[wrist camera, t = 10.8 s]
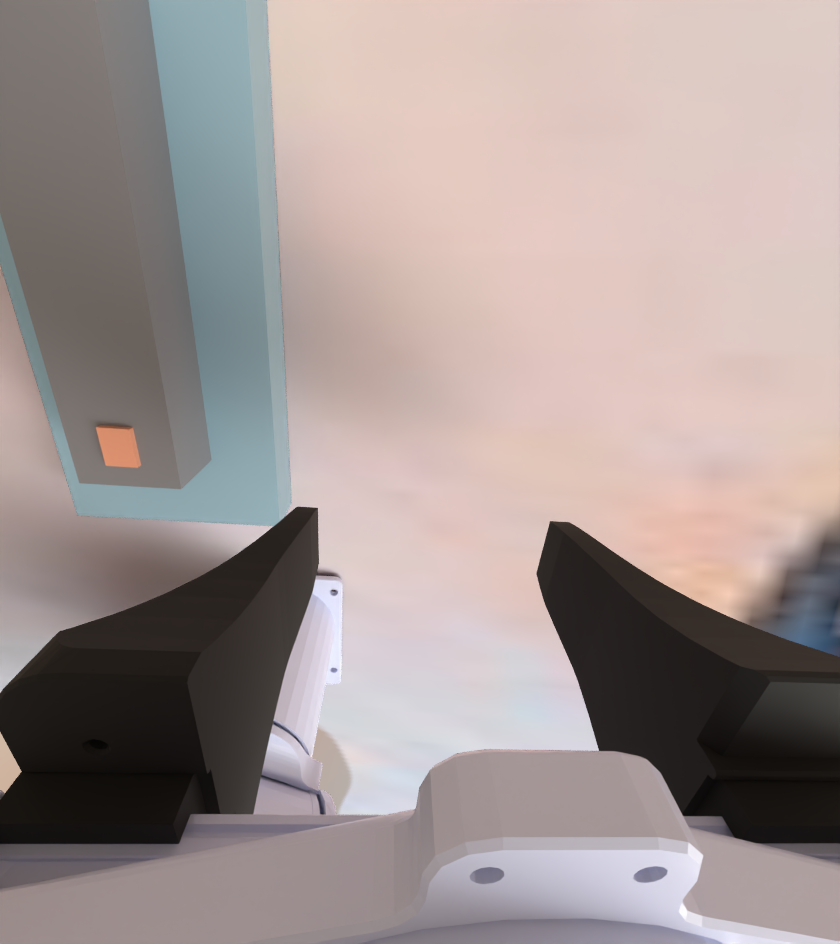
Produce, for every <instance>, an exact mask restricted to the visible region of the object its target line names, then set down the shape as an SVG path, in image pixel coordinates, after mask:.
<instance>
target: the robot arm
mask: <svg viewBox="0 0 840 944" xmlns="http://www.w3.org/2000/svg"><path fill="white" fill-rule="evenodd" d="M318 564H319V551H318V508H310V507H296V508H295V509H294V510H293V511H291V512H290V513H289V514H288V515H287V516H285V517H284V518H283V519H282V520H281V521H279V522H278V523H277V524H276V525H275V526H274V527H272V528H271V529H270V530H269V531H267V532H266V533H265V534H264V535H262V536H261V537H260V538H259V539H257V540H256V541H255V542H253V543H252V544H251V545H249V546H248V547H246V548H245V549H244V550H242V551H241V552H239V553H238V554H237V555H235V556H234V557H232V558H231V559H229V560H228V561H226V562H224V563H223V564H221V565H220V566H218V567H216V568H214V569H213V570H211V571H209V572H207V573H206V574H204V575H202V576H200V577H198V578H197V579H194V580H192V581H190V582H188V583H186V584H184V585H182V586H180V587H178V588H176V589H174V590H172V591H170V592H168V593H166V594H164V595H161V596H159V597H157V598H154V599H152V600H149V601H147V602H145V603H142V604H140V605H137V606H134V607H132V608H129V609H127V610H124V611H121V612H118V613H116V614H113V615H110V616H107V617H104V618H101V619H98V620H95V621H91V622H88V623H85V624H82V625H79V626H76V627H73V628H70V629H66V630H63V631H59V632H58V633H57V634H56V635H55V636H54V637H53V638H52V639H51V640H50V641H49V642H48V643H47V644H46V645H45V646H44V647H43V648H42V650H41V651H40V652H39V653H38V654H37V655H36V656H35V657H34V658H33V659H32V660H31V661H30V662H29V663H28V664H27V665H26V666H25V667H24V668H23V669H22V670H21V671H20V672H19V673H18V674H17V675H16V676H15V677H14V678H13V679H12V680H11V682H10V683H9V684H8V685H7V686H6V687H5V688H4V689H3V690H2V692H1V693H0V732H1V734H2V736H3V738H4V739H5V741H6V743H7V745H8V747H9V749H10V751H11V752H12V754H13V756H14V758H15V760H16V762H17V764H18V765H19V767H20V769H21V771H22V772H21V773H20V775H19V776H18V777H17V778H16V780H15V781H14V782H13V784H12V785H11V786H10V788H9V789H8V790H7V791H6V793H4V792H2V791H1V790H0V944H840V657H838V656H835V655H832V654H828V653H825V652H822V651H819V650H816V649H813V648H810V647H807V646H804V645H801V644H798V643H795V642H792V641H789V640H786V639H783V638H781V637H778V636H775V635H773V634H770V633H768V632H765V631H762V630H760V629H757V628H754V627H752V626H750V625H747V624H745V623H742V622H740V621H737V620H735V619H733V618H730V617H728V616H726V615H724V614H722V613H720V612H717V611H715V610H713V609H711V608H709V607H706V606H704V605H702V604H700V603H698V602H696V601H694V600H692V599H690V598H688V597H686V596H685V595H683V594H681V593H679V592H677V591H675V590H673V589H672V588H670V587H668V586H666V585H664V584H663V583H661V582H659V581H657V580H656V579H654V578H653V577H651V576H649V575H648V574H646V573H645V572H643V571H641V570H640V569H638V568H637V567H635V566H633V565H632V564H630V563H629V562H627V561H626V560H624V559H623V558H621V557H620V556H619V555H617V554H616V553H614V552H613V551H611V550H610V549H608V548H607V547H606V546H604V545H603V544H601V543H600V542H598V541H597V540H596V539H594V538H593V537H591V536H590V535H588V534H587V533H585V532H584V531H583V530H581V529H580V528H578V527H576V526H575V525H573V524H571V523H569V522H554V521H550V524H549V528H548V532H547V536H546V539H545V543H544V547H543V551H542V555H541V558H540V562H539V566H538V570H537V577H538V581H539V585H540V589H541V592H542V596H543V599H544V602H545V605H546V607H547V610H548V612H549V614H550V617H551V619H552V621H553V624H554V626H555V628H556V631H557V633H558V635H559V637H560V640H561V642H562V644H563V646H564V649H565V651H566V653H567V655H568V658H569V660H570V662H571V665H572V667H573V669H574V672H575V675H576V677H577V680H578V683H579V686H580V689H581V692H582V695H583V698H584V701H585V704H586V708H587V711H588V714H589V717H590V721H591V724H592V728H593V731H594V735H595V738H596V741H597V745H598V748H599V751H562V750H500V749H484V750H477V751H470V752H463V753H457V754H455V755H453V756H451V757H449V758H448V759H446V760H444V761H442V762H440V763H438V764H436V765H435V766H434V767H433V768H432V769H431V770H430V771H429V773H428V774H427V776H426V778H425V779H424V781H423V783H422V784H421V786H420V787H419V793H418V799H417V806H416V809H414V810H409V811H403V812H398V813H393V814H388V815H337V814H336V808H335V804H334V801H333V799H332V797H331V796H330V794H329V793H327V792H325V791H322V790H319V783H320V777H321V772H322V765H323V764H322V763H321V762H319V761H317V760H315V759H313V758H312V754H313V749H314V744H315V739H316V734H317V728H318V723H319V718H320V712H321V707H322V702H323V696H324V691H325V686H326V684H337V683H339V682H340V681H341V673H342V590H343V583H342V580H341V579H340V578H339V577H335V576H316V574H317V569H318ZM333 589H335V590H337V591H335V592H334V591H332V590H333Z"/></svg>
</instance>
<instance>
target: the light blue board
mask: <svg viewBox="0 0 840 944" xmlns="http://www.w3.org/2000/svg"><path fill="white" fill-rule="evenodd" d="M149 8H150V15H151V22H152V29H153V37H154V44H155V51H156V59H157V66H158V73H159V80H160V88H161V95H162V102H163V110H164V117H165V124H166V132H167V139H168V146H169V153H170V161H171V168H172V175H173V183H174V190H175V197H176V204H177V212H178V219H179V226H180V234H181V241H182V248H183V255H184V263H185V270H186V277H187V285H188V292H189V299H190V306H191V314H192V321H193V328H194V336H195V343H196V350H197V358H198V365H199V372H200V379H201V387H202V394H203V401H204V409H205V416H206V423H207V430H208V438H209V445H210V452H211V461H210V462H209V463H208V464H207V465H206V466H205V467H204V468H203V469H202V470H201V471H200V472H199V473H198V474H197V475H196V476H195V477H194V478H193V479H191V480H190V481H189V482H188V483H187V484H186V485H185V486H184V487H183V488H182V489H167V488H150V487H133V486H116V485H100V484H83V483H79V480H78V477H77V474H76V470H75V467H74V463H73V460H72V457H71V453H70V450H69V446H68V443H67V440H66V436H65V433H64V429H63V426H62V423H61V419H60V416H59V412H58V409H57V406H56V402H55V399H54V395H53V392H52V389H51V385H50V382H49V378H48V375H47V372H46V368H45V365H44V361H43V358H42V355H41V351H40V348H39V344H38V341H37V338H36V334H35V331H34V327H33V324H32V320H31V317H30V314H29V310H28V307H27V303H26V300H25V297H24V293H23V290H22V286H21V283H20V280H19V276H18V273H17V269H16V266H15V263H14V259H13V256H12V252H11V249H10V246H9V242H8V239H7V235H6V232H5V229H4V225H3V222H2V218H1V215H0V265H1V268H2V271H3V275H4V278H5V281H6V284H7V288H8V291H9V294H10V297H11V301H12V304H13V307H14V310H15V314H16V317H17V320H18V323H19V327H20V330H21V333H22V336H23V340H24V343H25V346H26V349H27V353H28V356H29V359H30V362H31V366H32V369H33V372H34V375H35V379H36V382H37V385H38V388H39V392H40V395H41V398H42V401H43V405H44V408H45V411H46V414H47V418H48V421H49V424H50V427H51V431H52V434H53V437H54V441H55V444H56V447H57V450H58V454H59V457H60V460H61V463H62V467H63V470H64V473H65V476H66V480H67V483H68V486H69V489H70V493H71V496H72V499H73V502H74V506H75V509H76V512H77V515H78V516H95V517H114V518H132V519H151V520H169V521H188V522H207V523H225V524H244V525H262V526H275V525H276V524H277V523H278V522H279V521H281V520H282V519H283V518H284V517H285V515H286V513H287V511H288V509H289V507H290V505H291V503H292V502H291V482H290V461H289V441H288V421H287V401H286V381H285V360H284V340H283V320H282V300H281V279H280V259H279V239H278V219H277V199H276V178H275V158H274V138H273V118H272V98H271V77H270V57H269V37H268V17H267V0H149Z"/></svg>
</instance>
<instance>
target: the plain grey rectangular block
mask: <svg viewBox="0 0 840 944" xmlns="http://www.w3.org/2000/svg"><path fill="white" fill-rule="evenodd" d="M0 215H1V218H2V222H3V225H4V229H5V232H6V235H7V239H8V242H9V246H10V249H11V252H12V256H13V259H14V263H15V266H16V269H17V273H18V276H19V280H20V283H21V286H22V290H23V293H24V297H25V300H26V303H27V307H28V310H29V314H30V317H31V320H32V324H33V327H34V331H35V334H36V338H37V341H38V344H39V348H40V351H41V355H42V358H43V361H44V365H45V368H46V372H47V375H48V378H49V382H50V385H51V389H52V392H53V395H54V399H55V402H56V406H57V409H58V412H59V416H60V419H61V423H62V426H63V429H64V433H65V436H66V440H67V443H68V446H69V450H70V453H71V457H72V460H73V463H74V467H75V470H76V474H77V477H78V480H79V483H83V484H100V485H116V486H133V487H150V488H167V489H182V488H183V487H184V486H185V485H186V484H187V483H188V482H189V481H190V480H191V479H193V478H194V477H195V476H196V475H197V474H198V473H199V472H200V471H201V470H202V469H203V468H204V467H205V466H206V465H207V464H208V463H209V462H210V461H211V452H210V445H209V438H208V430H207V423H206V416H205V409H204V401H203V394H202V387H201V379H200V372H199V365H198V358H197V350H196V343H195V336H194V328H193V321H192V314H191V306H190V299H189V292H188V285H187V277H186V270H185V263H184V255H183V248H182V241H181V234H180V226H179V219H178V212H177V204H176V197H175V190H174V183H173V175H172V168H171V161H170V153H169V146H168V139H167V132H166V124H165V117H164V110H163V102H162V95H161V88H160V80H159V73H158V66H157V59H156V51H155V44H154V37H153V29H152V22H151V15H150V8H149V0H0Z"/></svg>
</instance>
